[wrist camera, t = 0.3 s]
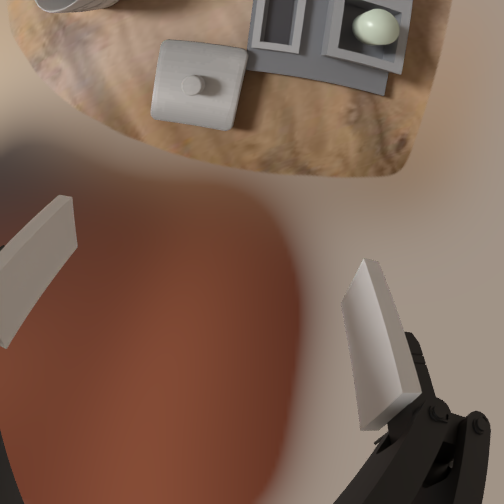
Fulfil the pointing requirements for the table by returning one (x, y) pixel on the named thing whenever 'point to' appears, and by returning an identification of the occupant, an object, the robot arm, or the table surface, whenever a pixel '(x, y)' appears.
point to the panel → (325, 41)
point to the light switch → (198, 83)
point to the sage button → (376, 27)
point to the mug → (73, 5)
